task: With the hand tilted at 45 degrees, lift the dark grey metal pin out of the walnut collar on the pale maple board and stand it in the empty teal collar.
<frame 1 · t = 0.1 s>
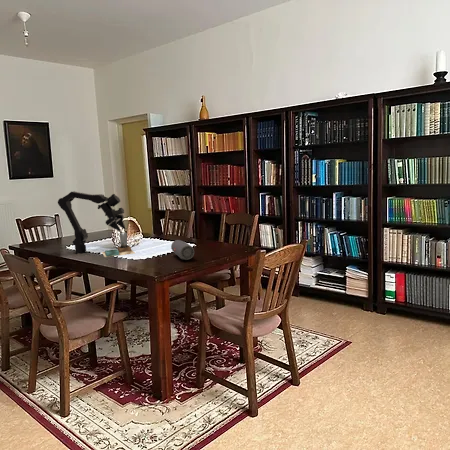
hand: (122, 229, 287), 15 cm above the table, tool tilted 35°, fingers open, 9 cm apart
bluetooth speaker: (182, 258, 259), on the table
pin: (124, 250, 284), point 1 cm above the table, touching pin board
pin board: (118, 254, 279), on the table
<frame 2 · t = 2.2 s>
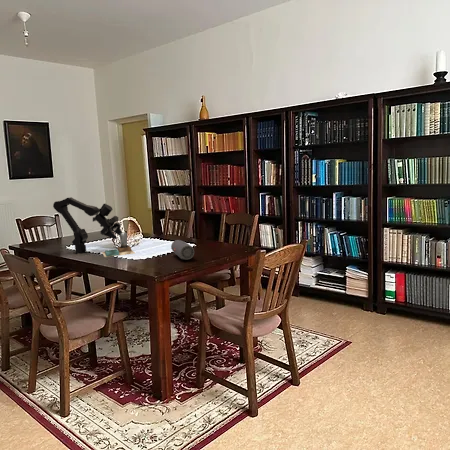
hand: (119, 237, 284), 10 cm above the table, tool tilted 45°, fingers open, 9 cm apart
nothing on the table moved.
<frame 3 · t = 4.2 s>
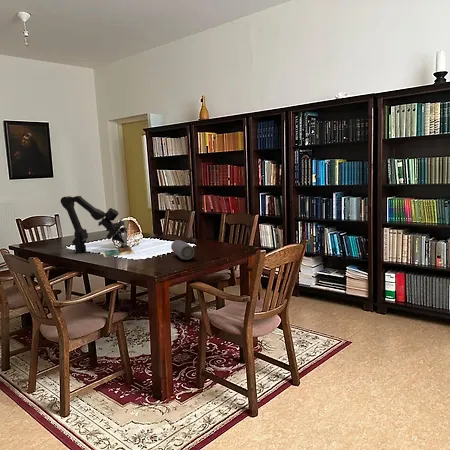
hand: (125, 241, 283), 7 cm above the table, tool tilted 45°, fingers closed on pin, 4 cm apart
pin: (124, 250, 284), point 1 cm above the table, touching gripper, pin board
everything else where it was.
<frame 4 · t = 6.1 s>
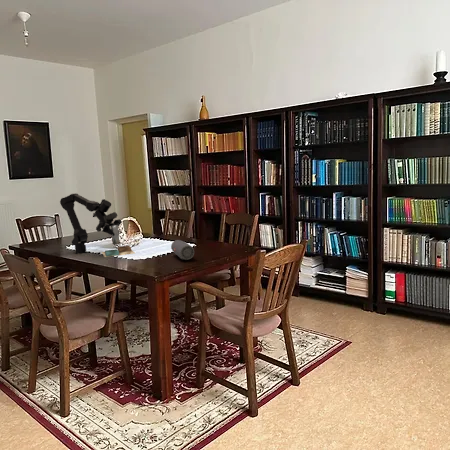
hand: (116, 234, 274), 13 cm above the table, tool tilted 45°, fingers closed on pin, 4 cm apart
pin: (116, 243, 276), point 8 cm above the table, touching gripper
everything else where it was.
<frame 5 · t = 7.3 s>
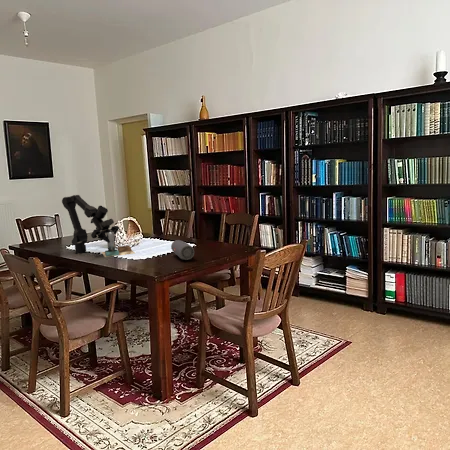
hand: (112, 241, 271), 10 cm above the table, tool tilted 45°, fingers closed on pin, 4 cm apart
pin: (111, 250, 273), point 4 cm above the table, touching gripper
everything else where it was.
when the fingers open (9 cm above the table, at t = 8.3 s): pin drops 1 cm, resting on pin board.
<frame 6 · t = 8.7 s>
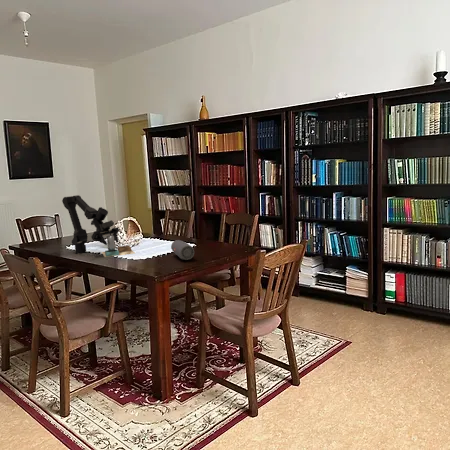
hand: (112, 243, 271), 9 cm above the table, tool tilted 45°, fingers open, 9 cm apart
pin: (112, 254, 273), point 1 cm above the table, touching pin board
everything else where it was.
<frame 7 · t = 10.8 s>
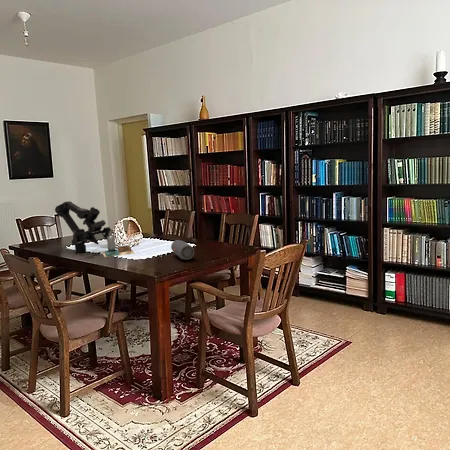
hand: (103, 242, 276), 8 cm above the table, tool tilted 45°, fingers open, 9 cm apart
nothing on the table moved.
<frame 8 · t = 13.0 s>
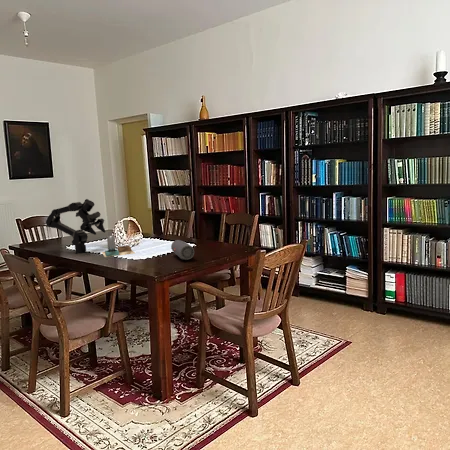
hand: (100, 233, 284), 14 cm above the table, tool tilted 45°, fingers open, 9 cm apart
nothing on the table moved.
at the end: pin 0.0 cm from the target spot on the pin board, point 1.2 cm above the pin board's base; pin tilted 0°; the gripper is holding nothing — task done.
